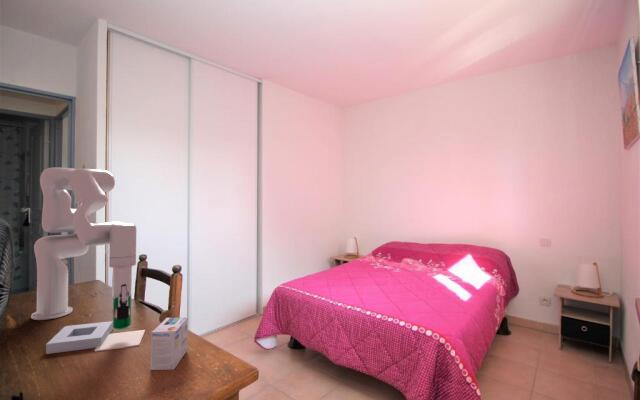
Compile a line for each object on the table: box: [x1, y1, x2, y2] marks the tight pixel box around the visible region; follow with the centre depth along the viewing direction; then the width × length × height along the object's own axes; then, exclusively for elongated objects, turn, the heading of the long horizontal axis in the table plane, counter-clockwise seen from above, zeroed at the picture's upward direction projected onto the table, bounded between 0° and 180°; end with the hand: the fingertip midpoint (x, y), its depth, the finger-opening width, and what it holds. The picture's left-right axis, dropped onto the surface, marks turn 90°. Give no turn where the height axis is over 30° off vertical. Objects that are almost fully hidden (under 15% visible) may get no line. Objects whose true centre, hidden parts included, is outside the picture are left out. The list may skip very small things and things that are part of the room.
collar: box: [45, 320, 114, 355], centre depth 103 cm, size 14×14×3 cm
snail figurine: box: [158, 301, 177, 324], centre depth 104 cm, size 5×6×12 cm
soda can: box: [112, 294, 132, 331], centre depth 103 cm, size 5×5×12 cm
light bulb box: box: [150, 316, 189, 371], centre depth 91 cm, size 11×7×11 cm, turn 5°
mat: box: [93, 329, 146, 353], centre depth 103 cm, size 12×12×1 cm
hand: (122, 315), depth 103 cm, fingers closed on soda can, 5 cm apart
